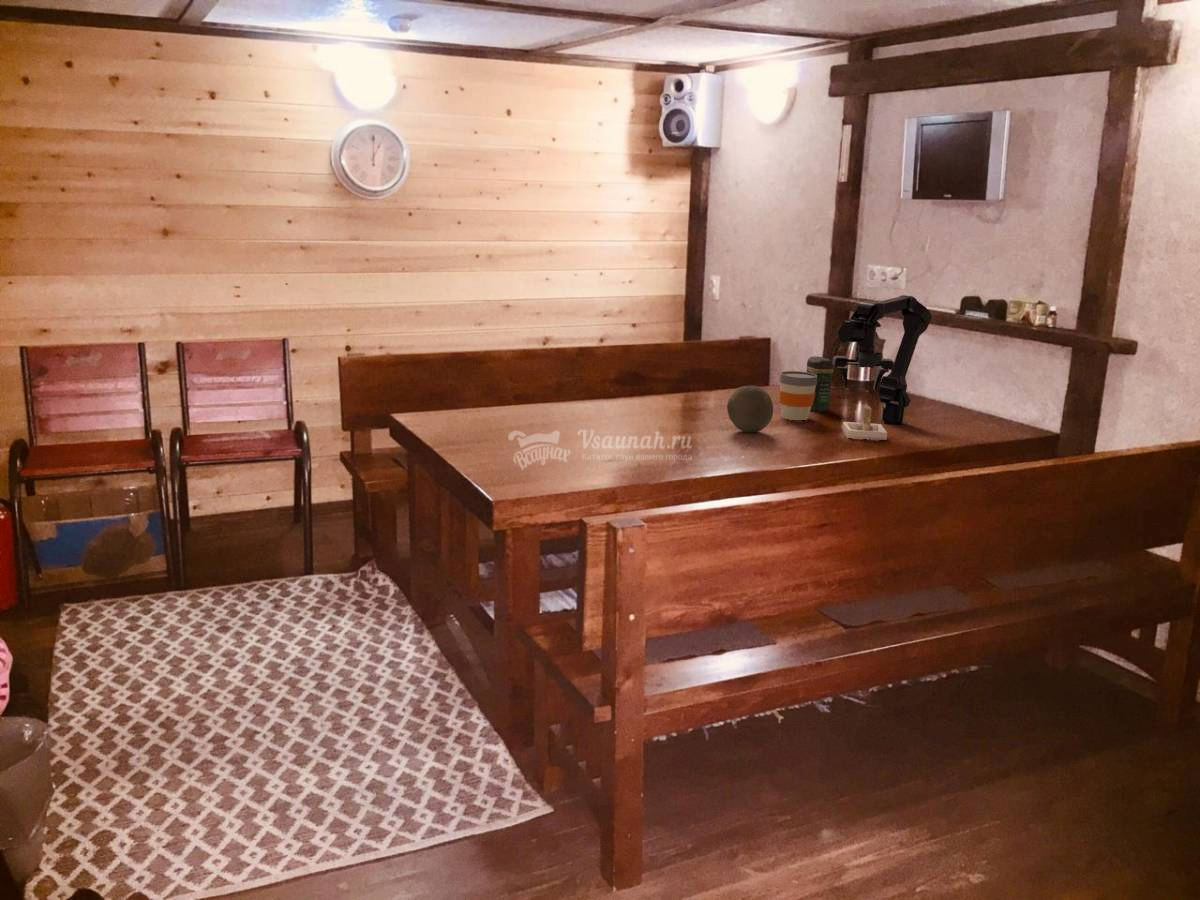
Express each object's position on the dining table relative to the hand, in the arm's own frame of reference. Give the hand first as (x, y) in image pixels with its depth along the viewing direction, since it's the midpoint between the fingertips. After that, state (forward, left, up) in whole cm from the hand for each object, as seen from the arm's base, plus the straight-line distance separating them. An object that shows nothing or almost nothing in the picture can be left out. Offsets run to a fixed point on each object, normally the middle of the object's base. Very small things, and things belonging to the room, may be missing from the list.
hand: (860, 388), depth 322 cm
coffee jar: (+10, -26, -13) cm, 31 cm away
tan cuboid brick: (-1, +10, -12) cm, 16 cm away
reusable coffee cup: (+19, -9, -13) cm, 25 cm away
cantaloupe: (+36, +17, -13) cm, 42 cm away
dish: (-1, +10, -13) cm, 16 cm away
